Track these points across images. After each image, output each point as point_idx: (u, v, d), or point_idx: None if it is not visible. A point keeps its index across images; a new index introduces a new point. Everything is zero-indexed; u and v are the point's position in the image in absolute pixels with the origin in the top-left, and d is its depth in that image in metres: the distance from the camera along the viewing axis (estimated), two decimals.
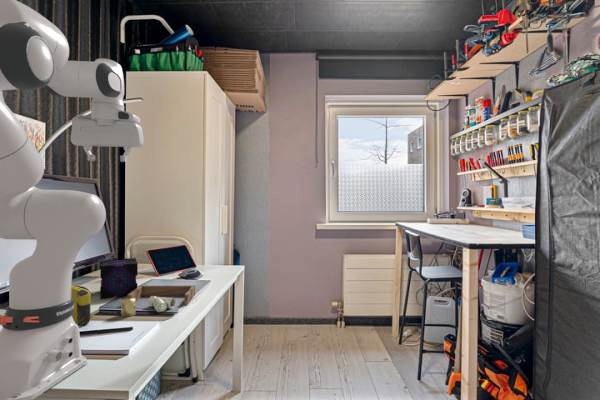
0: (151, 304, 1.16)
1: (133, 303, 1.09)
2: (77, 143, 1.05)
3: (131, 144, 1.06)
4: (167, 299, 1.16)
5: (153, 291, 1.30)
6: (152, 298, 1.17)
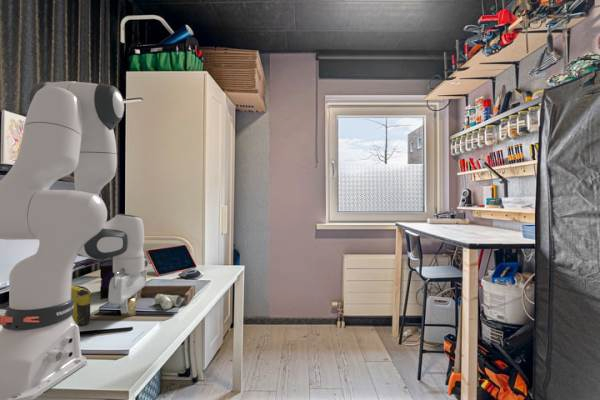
0: (157, 302, 1.19)
1: (133, 302, 1.09)
2: (123, 301, 1.02)
3: None
4: (173, 297, 1.19)
5: (153, 291, 1.30)
6: (158, 296, 1.20)
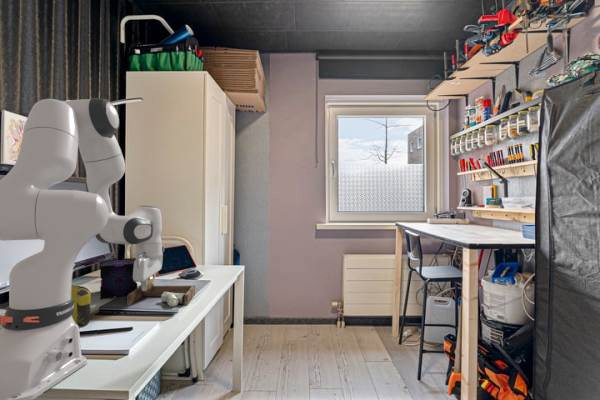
0: (164, 299, 1.22)
1: (151, 281, 1.26)
2: (145, 279, 1.20)
3: (159, 269, 1.36)
4: (179, 295, 1.21)
5: (153, 291, 1.30)
6: (165, 293, 1.23)
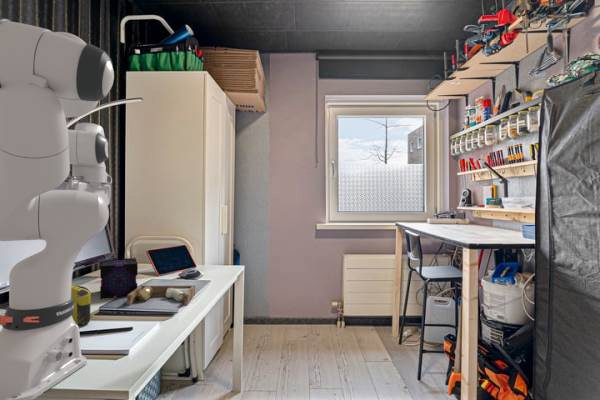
0: (169, 295, 1.27)
1: (149, 296, 1.25)
2: None
3: (106, 204, 1.16)
4: (185, 290, 1.27)
5: (153, 291, 1.30)
6: (170, 290, 1.27)
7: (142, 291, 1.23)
